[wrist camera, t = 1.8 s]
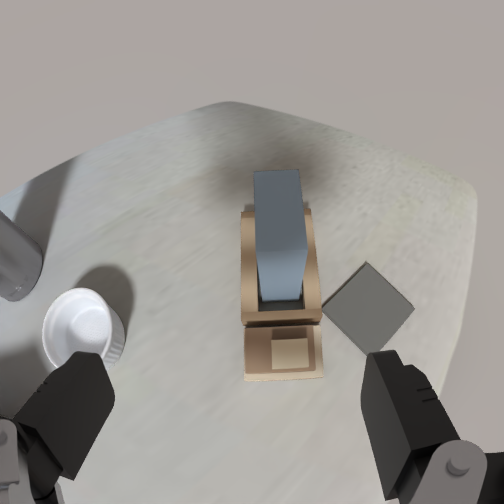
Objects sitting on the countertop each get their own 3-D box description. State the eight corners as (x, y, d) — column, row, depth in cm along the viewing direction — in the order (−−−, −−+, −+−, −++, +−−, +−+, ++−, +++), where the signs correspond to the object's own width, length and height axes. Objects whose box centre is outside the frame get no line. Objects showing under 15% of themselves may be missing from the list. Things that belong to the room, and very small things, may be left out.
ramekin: (120, 289, 33) (102, 274, 29) (140, 366, 29) (121, 359, 25) (59, 315, 32) (37, 303, 28) (73, 387, 28) (49, 383, 24)
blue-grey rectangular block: (298, 300, 31) (308, 249, 21) (262, 302, 31) (255, 252, 21) (293, 238, 34) (298, 169, 24) (260, 239, 34) (253, 171, 24)
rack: (323, 377, 27) (329, 374, 24) (244, 381, 28) (239, 378, 25) (309, 218, 35) (311, 199, 32) (243, 221, 35) (239, 203, 32)
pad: (320, 310, 30) (321, 308, 30) (366, 264, 32) (367, 263, 32) (370, 359, 28) (371, 359, 27) (413, 309, 29) (415, 308, 29)
